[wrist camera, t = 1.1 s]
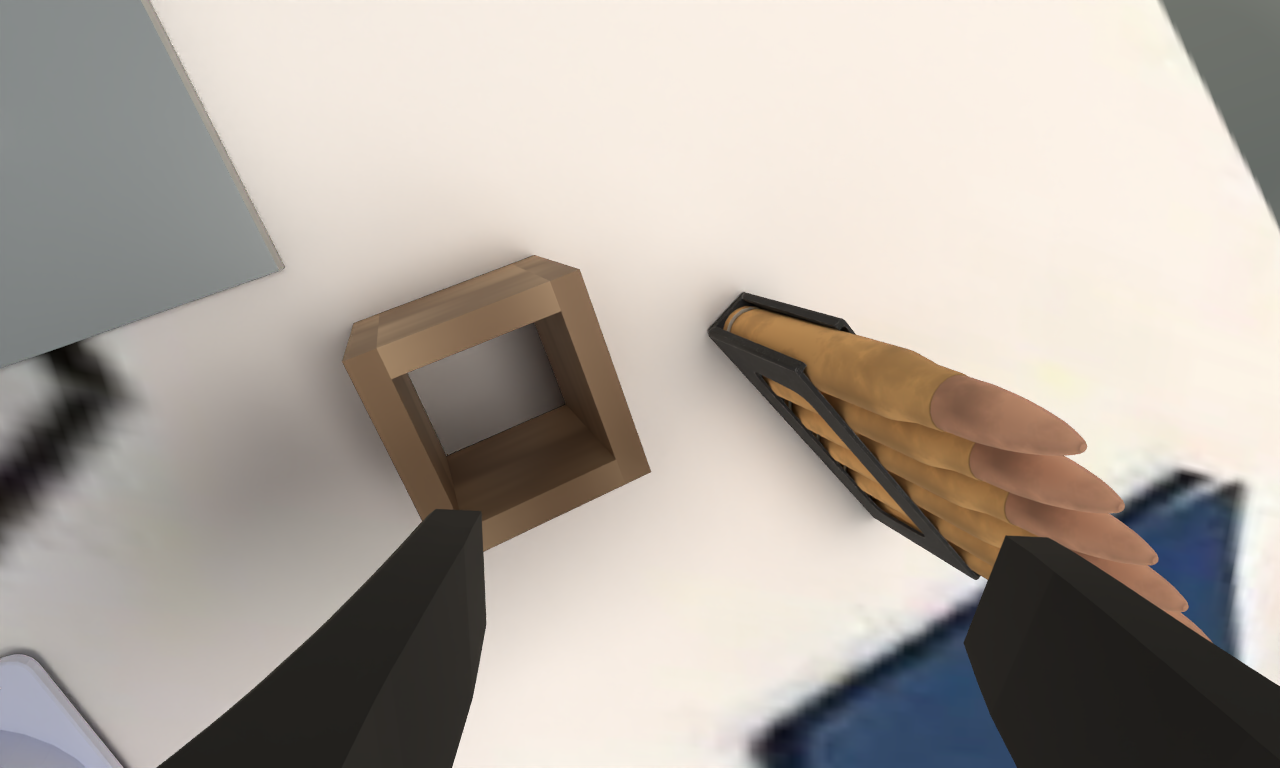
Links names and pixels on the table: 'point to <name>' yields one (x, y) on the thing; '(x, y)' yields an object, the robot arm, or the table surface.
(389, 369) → the walnut frame
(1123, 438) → the table surface
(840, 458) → the ammunition clip
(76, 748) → the robot arm
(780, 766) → the table surface
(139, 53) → the gray peg stand
